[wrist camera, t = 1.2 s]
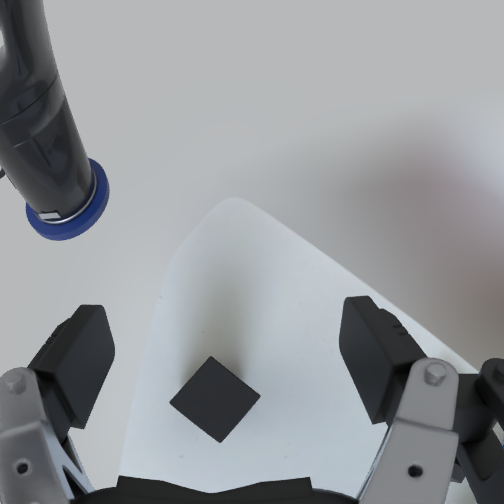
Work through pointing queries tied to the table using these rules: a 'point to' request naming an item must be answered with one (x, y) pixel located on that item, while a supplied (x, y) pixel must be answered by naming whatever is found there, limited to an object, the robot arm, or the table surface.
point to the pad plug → (215, 399)
